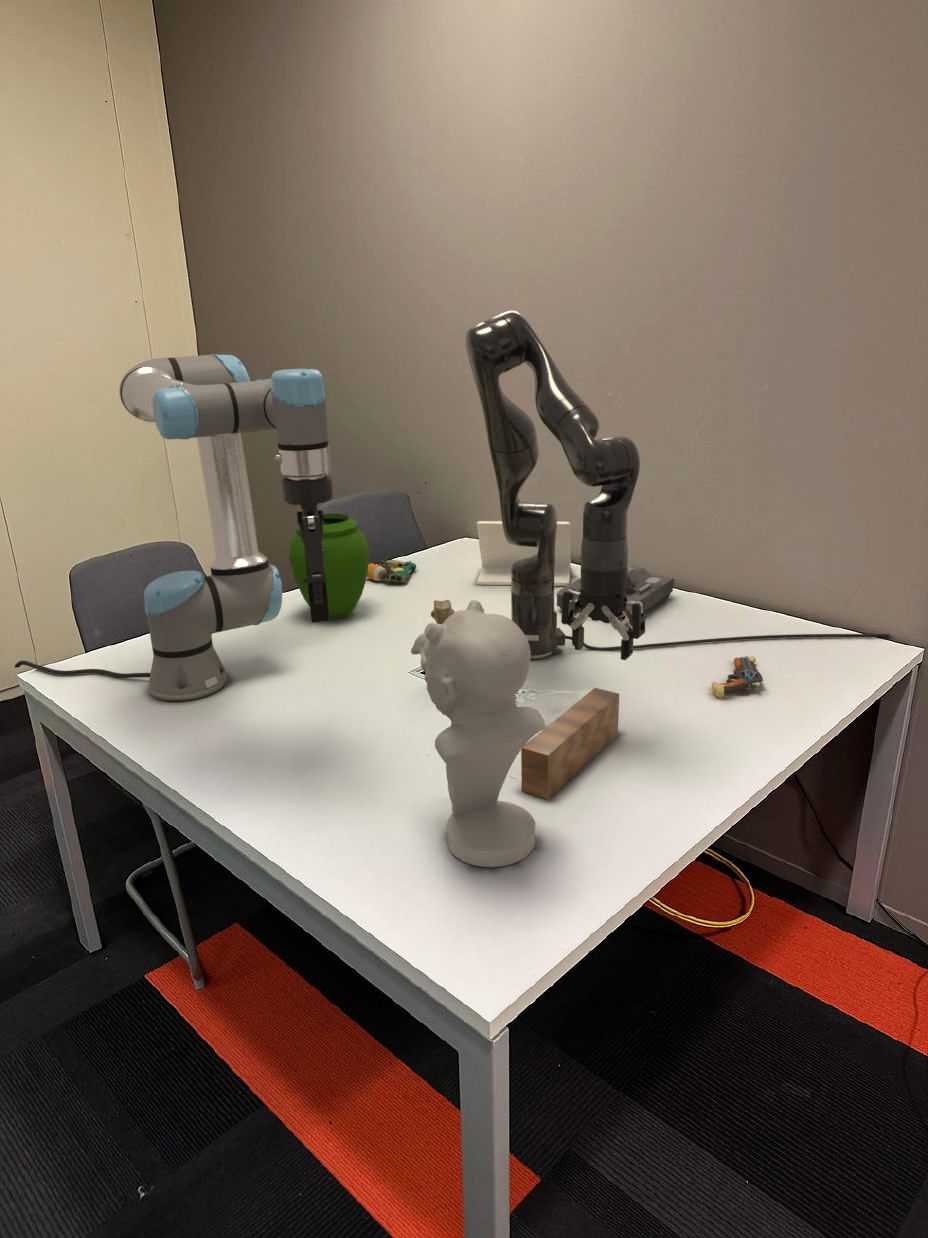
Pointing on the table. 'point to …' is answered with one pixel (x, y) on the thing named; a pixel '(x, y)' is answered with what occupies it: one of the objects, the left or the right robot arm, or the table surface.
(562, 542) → the tablet stand
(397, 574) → the spray gun
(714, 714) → the table surface
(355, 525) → the vase
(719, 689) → the toy gun
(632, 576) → the toy
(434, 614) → the sculpture
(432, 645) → the bust sculpture
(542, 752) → the bar
